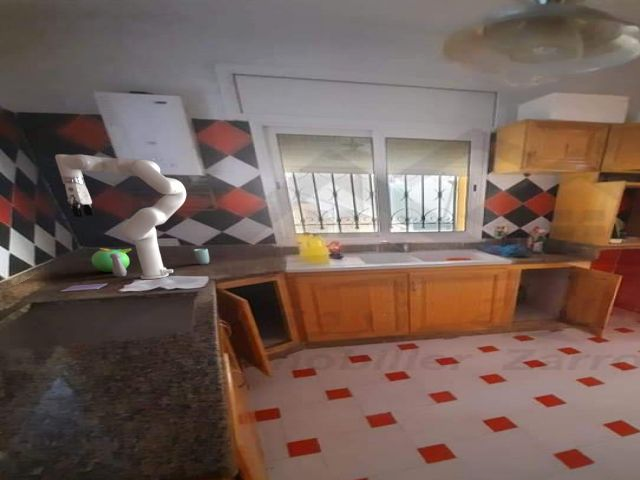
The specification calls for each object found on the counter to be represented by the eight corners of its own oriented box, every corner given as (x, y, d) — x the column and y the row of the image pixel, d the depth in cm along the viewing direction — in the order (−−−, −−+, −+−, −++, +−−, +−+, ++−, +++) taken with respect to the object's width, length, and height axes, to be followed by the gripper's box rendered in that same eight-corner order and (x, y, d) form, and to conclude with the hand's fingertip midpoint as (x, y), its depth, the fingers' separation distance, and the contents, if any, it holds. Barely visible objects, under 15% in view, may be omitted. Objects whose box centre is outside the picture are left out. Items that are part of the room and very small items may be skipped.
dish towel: (107, 284, 166) (107, 283, 166) (97, 289, 158) (96, 288, 157) (73, 286, 162) (72, 285, 162) (60, 292, 153) (59, 291, 153)
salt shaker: (119, 277, 179) (112, 254, 175) (111, 276, 180) (104, 254, 176) (130, 274, 185) (124, 253, 181) (122, 274, 186) (116, 252, 182)
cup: (212, 263, 215) (209, 249, 212) (200, 265, 209) (196, 250, 206) (207, 262, 219) (204, 248, 216) (194, 264, 213) (191, 249, 210)
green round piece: (90, 273, 188) (82, 248, 184) (125, 267, 203) (118, 244, 198) (104, 276, 181) (96, 251, 176) (140, 270, 195) (133, 246, 191)
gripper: (73, 181, 153) (84, 217, 158) (92, 181, 168) (102, 214, 173) (52, 180, 150) (64, 217, 155) (74, 181, 165) (84, 215, 170)
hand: (84, 216), depth 164 cm, fingers open, 9 cm apart
